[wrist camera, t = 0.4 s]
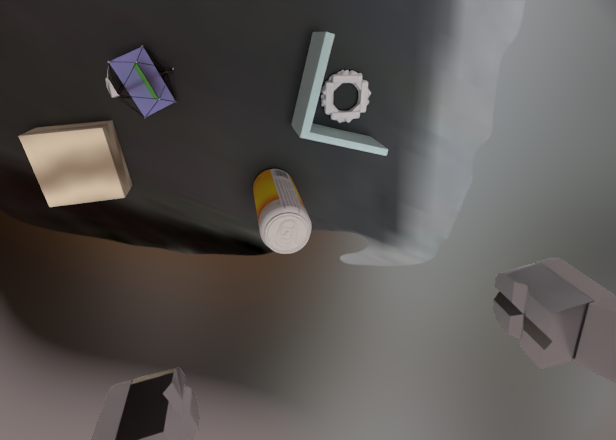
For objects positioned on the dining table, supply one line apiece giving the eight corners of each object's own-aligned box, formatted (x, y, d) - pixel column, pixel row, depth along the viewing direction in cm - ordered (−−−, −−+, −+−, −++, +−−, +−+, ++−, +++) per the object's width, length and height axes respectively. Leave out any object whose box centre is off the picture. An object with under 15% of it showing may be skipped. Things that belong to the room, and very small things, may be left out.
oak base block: (36, 127, 45) (18, 136, 41) (112, 119, 46) (102, 127, 42) (63, 193, 49) (49, 207, 45) (132, 184, 51) (124, 197, 47)
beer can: (250, 202, 55) (256, 254, 42) (256, 164, 52) (265, 207, 39) (289, 206, 56) (307, 258, 43) (296, 170, 54) (318, 213, 41)
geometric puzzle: (169, 32, 41) (116, 53, 36) (200, 90, 45) (156, 117, 39) (133, 53, 45) (80, 74, 40) (164, 104, 49) (119, 131, 43)
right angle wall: (367, 141, 55) (386, 155, 48) (290, 124, 51) (300, 137, 45) (394, 56, 50) (419, 60, 43) (312, 31, 46) (326, 31, 40)
